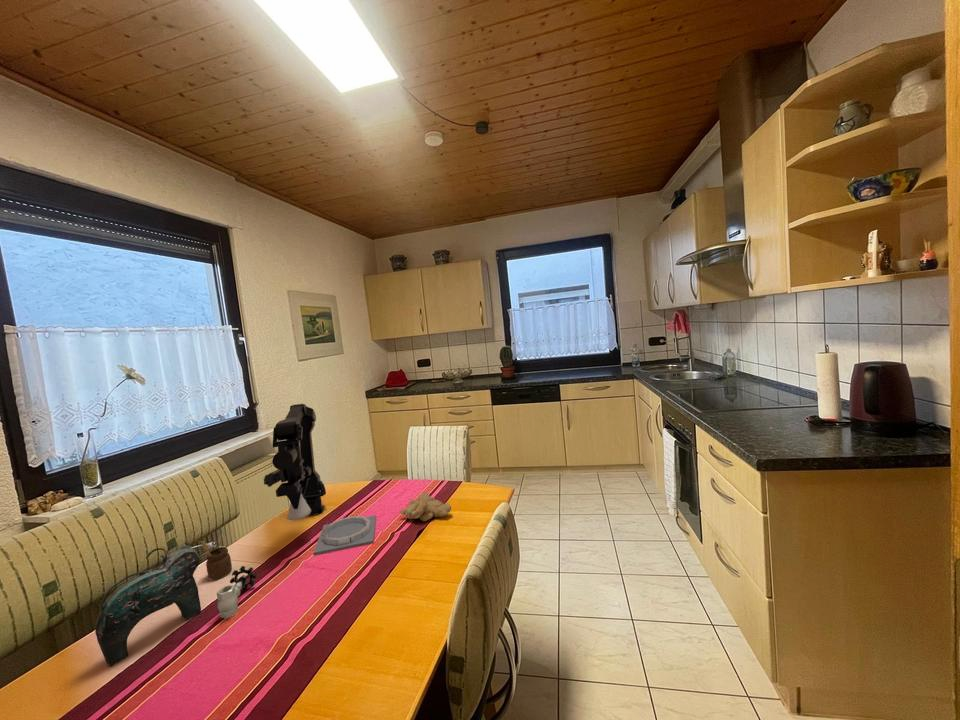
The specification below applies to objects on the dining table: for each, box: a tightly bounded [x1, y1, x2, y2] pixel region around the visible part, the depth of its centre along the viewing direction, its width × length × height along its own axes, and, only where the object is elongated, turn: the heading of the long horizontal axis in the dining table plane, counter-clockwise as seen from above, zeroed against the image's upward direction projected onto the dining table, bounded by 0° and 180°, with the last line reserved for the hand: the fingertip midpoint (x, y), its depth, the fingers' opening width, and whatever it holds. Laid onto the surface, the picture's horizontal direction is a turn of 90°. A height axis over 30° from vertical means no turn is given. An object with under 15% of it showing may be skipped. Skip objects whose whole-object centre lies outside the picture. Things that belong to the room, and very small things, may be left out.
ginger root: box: [399, 491, 452, 522], centre depth 137 cm, size 16×16×8 cm
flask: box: [286, 485, 312, 521], centre depth 127 cm, size 7×7×10 cm
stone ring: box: [322, 515, 371, 546], centre depth 129 cm, size 15×15×2 cm
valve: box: [216, 565, 258, 620], centre depth 99 cm, size 7×7×12 cm
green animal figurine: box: [94, 541, 202, 667], centre depth 90 cm, size 20×6×20 cm, turn 150°
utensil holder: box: [200, 534, 233, 581], centre depth 113 cm, size 6×6×12 cm
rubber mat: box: [312, 515, 377, 556], centre depth 129 cm, size 18×18×1 cm
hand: (298, 505), depth 127 cm, fingers closed on flask, 5 cm apart
